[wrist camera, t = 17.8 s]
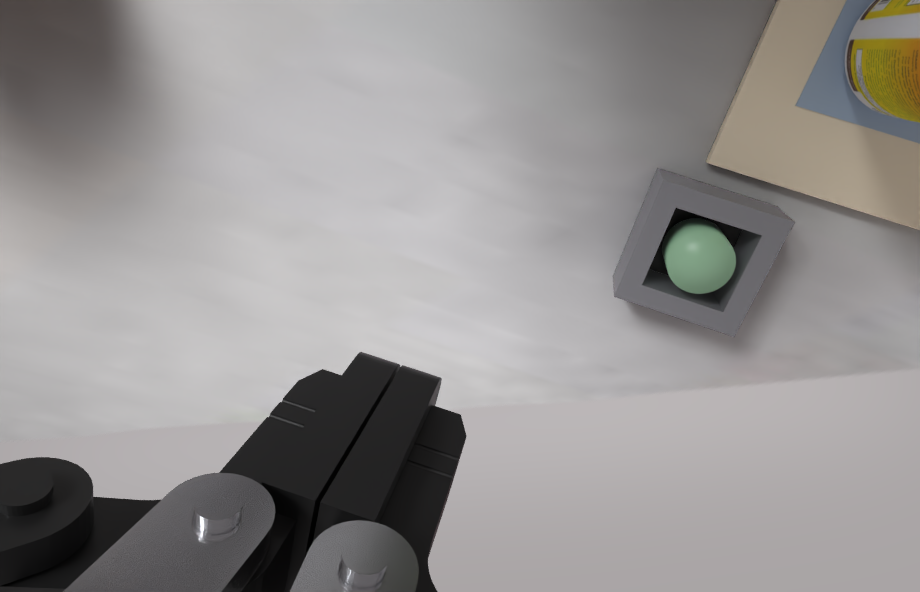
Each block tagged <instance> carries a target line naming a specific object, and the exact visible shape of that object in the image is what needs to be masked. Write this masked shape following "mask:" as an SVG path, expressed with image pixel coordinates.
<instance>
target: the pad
mask: <svg viewBox="0 0 920 592" xmlns="http://www.w3.org/2000/svg"><path fill="white" fill-rule="evenodd" d="M873 1H874V0H777V2H776V4H775V6H774V9H773V11H772V13H771V15H770V18H769V20H768V22H767V24H766V27H765V29H764V31H763V33H762V36H761V38H760V40H759V42H758V45H757V47H756V49H755V51H754V54H753V56H752V58H751V60H750V63H749V65H748V67H747V69H746V72H745V74H744V76H743V78H742V81H741V83H740V85H739V87H738V90H737V92H736V94H735V96H734V99H733V101H732V103H731V105H730V108H729V110H728V112H727V114H726V117H725V119H724V121H723V123H722V126H721V128H720V130H719V132H718V135H717V137H716V139H715V141H714V144H713V146H712V148H711V150H710V153H709V155H708V157H707V159H706V162H707V163H709V164H712V165H715V166H718V167H721V168H724V169H728V170H731V171H734V172H737V173H740V174H743V175H746V176H750V177H753V178H756V179H759V180H762V181H765V182H769V183H772V184H775V185H778V186H781V187H784V188H788V189H791V190H794V191H797V192H800V193H803V194H807V195H810V196H813V197H816V198H819V199H822V200H825V201H829V202H832V203H835V204H838V205H841V206H844V207H848V208H851V209H854V210H857V211H860V212H863V213H867V214H870V215H873V216H876V217H879V218H882V219H885V220H889V221H892V222H895V223H898V224H901V225H904V226H908V227H911V228H914V229H917V230H920V123H919V122H914V121H909V120H904V119H900V118H896V117H891V116H887V115H884V114H881V113H878V112H876V111H874V110H872V109H870V108H869V107H867V106H866V105H865V104H863V103H862V102H861V101H860V100H859V99H858V98H857V97H856V95H855V94H854V93H853V91H852V89H851V87H850V85H849V83H848V80H847V76H846V72H845V52H846V47H847V43H848V40H849V37H850V34H851V32H852V30H853V28H854V26H855V24H856V22H857V21H858V19H859V18H860V16H861V15H862V14H863V12H864V11H865V10H866V9H867V8H868V6H869V5H870V4H871V3H872V2H873Z"/></svg>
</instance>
